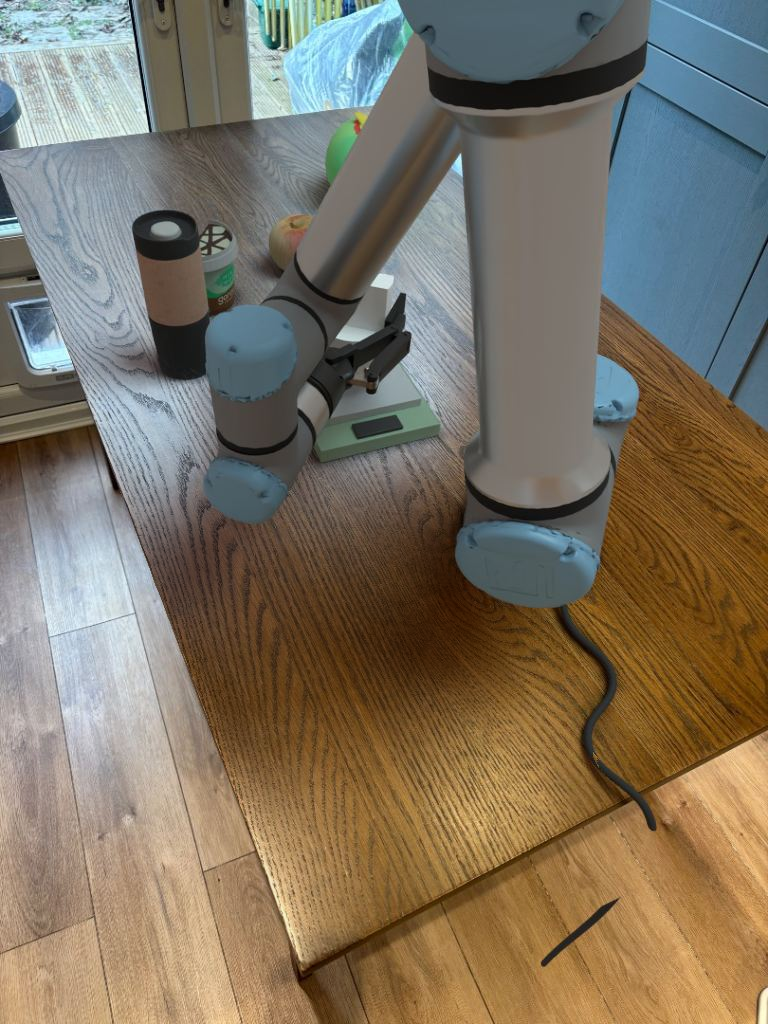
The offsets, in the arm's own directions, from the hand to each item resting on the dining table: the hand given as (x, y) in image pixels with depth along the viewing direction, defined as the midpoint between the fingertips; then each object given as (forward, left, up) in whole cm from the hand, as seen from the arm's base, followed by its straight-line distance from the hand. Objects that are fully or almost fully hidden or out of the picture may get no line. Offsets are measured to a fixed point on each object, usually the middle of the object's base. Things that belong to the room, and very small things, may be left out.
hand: (365, 293), depth 94 cm
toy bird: (+47, -20, -13) cm, 52 cm away
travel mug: (+10, +22, -13) cm, 27 cm away
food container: (+23, +14, -13) cm, 29 cm away
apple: (+29, 0, -13) cm, 31 cm away
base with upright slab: (-3, +3, -7) cm, 9 cm away
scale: (-4, +3, -13) cm, 14 cm away
